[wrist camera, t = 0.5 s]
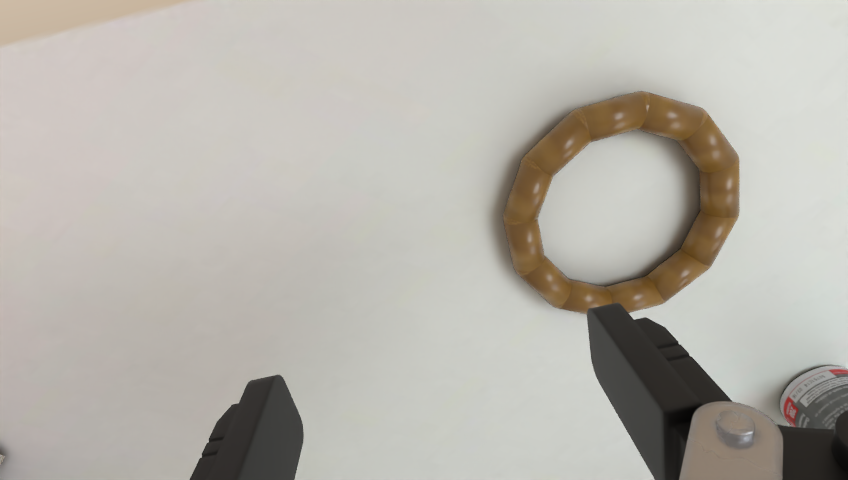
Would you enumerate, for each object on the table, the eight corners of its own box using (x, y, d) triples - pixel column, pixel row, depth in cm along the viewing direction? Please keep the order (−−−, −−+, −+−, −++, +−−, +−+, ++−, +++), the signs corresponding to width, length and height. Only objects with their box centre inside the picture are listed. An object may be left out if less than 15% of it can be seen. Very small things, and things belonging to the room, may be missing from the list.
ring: (481, 132, 22) (487, 139, 20) (723, 62, 21) (748, 64, 20) (525, 326, 26) (532, 343, 25) (726, 274, 26) (746, 289, 24)
